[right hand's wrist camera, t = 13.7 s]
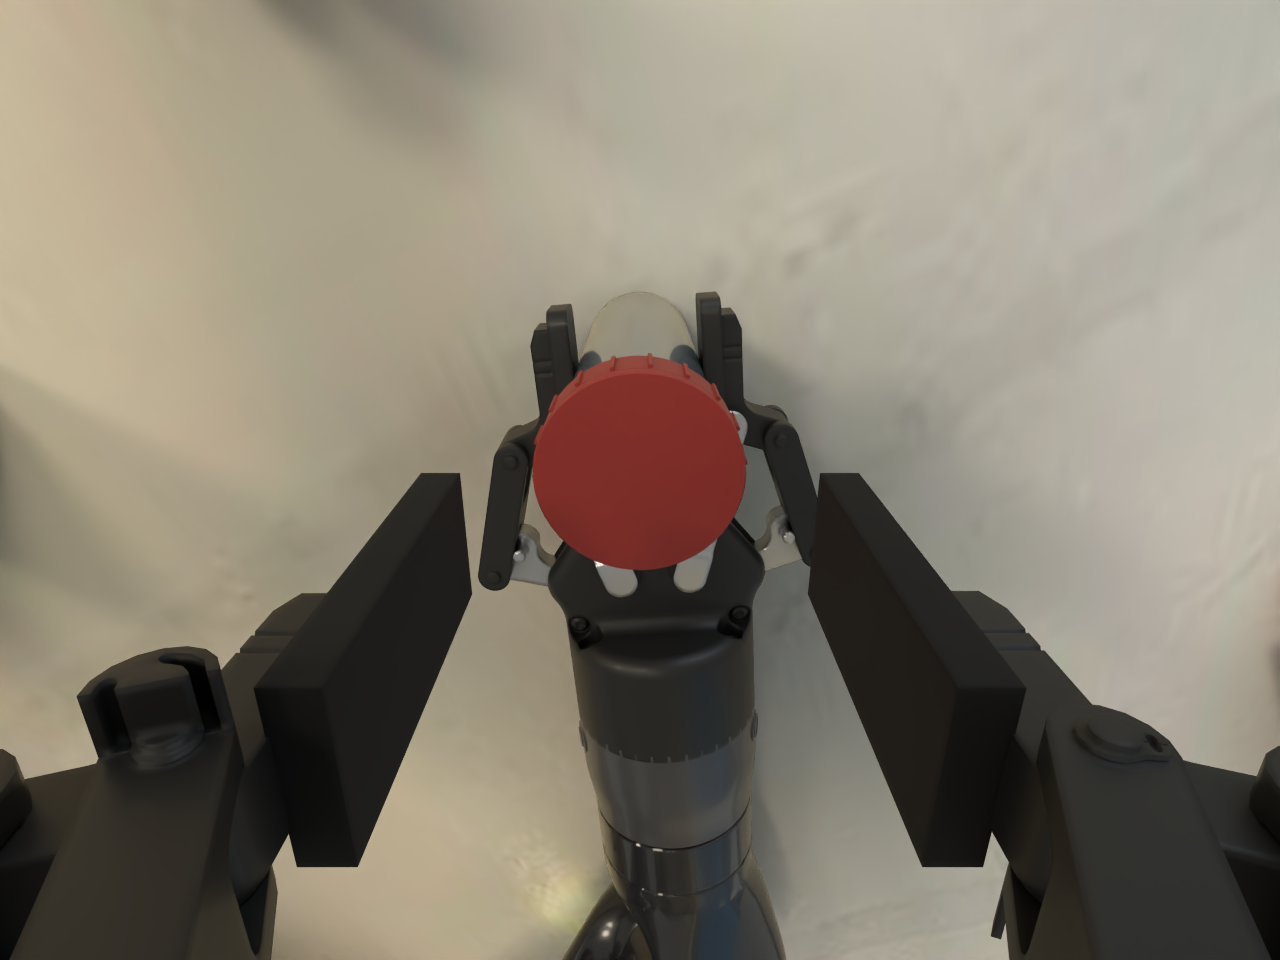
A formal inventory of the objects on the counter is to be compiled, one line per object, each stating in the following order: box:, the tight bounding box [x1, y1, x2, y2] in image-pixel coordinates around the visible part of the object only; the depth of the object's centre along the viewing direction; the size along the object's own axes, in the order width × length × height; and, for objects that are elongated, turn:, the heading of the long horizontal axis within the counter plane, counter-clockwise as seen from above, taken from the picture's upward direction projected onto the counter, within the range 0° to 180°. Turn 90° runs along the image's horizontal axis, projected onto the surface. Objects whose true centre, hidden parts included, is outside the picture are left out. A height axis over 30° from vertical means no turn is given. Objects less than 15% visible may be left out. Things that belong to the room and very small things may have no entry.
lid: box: [532, 353, 747, 570], centre depth 18 cm, size 5×5×2 cm
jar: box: [573, 292, 706, 380], centre depth 25 cm, size 4×4×15 cm
